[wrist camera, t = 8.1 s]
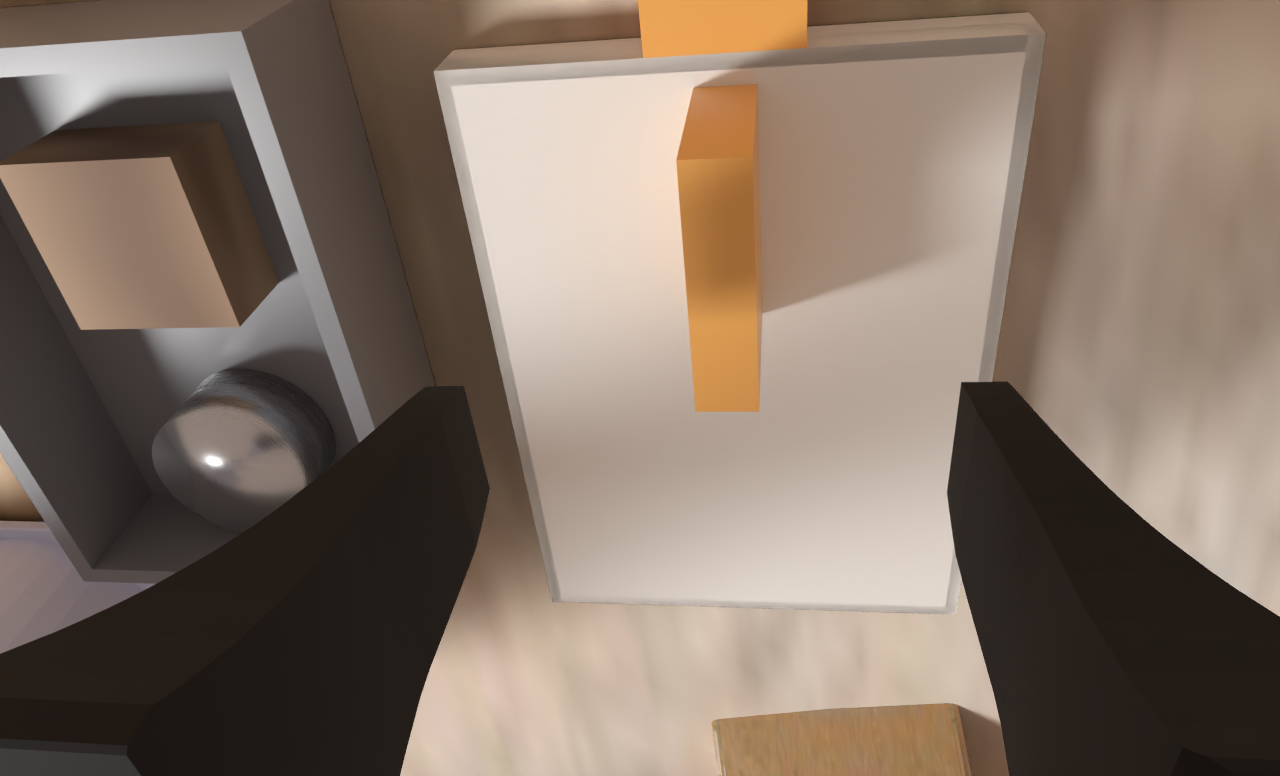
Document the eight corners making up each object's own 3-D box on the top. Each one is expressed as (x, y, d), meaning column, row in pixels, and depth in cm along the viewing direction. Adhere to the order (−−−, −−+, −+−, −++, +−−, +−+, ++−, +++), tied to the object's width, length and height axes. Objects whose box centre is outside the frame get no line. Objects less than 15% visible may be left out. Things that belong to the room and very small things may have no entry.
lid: (561, 565, 28) (525, 706, 24) (431, -57, 18) (332, 9, 14) (948, 575, 26) (978, 729, 22) (1046, -109, 16) (1132, -50, 12)
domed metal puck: (219, 479, 27) (182, 528, 25) (171, 365, 24) (128, 411, 23) (350, 487, 26) (321, 537, 24) (315, 371, 24) (281, 419, 22)
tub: (153, 494, 28) (83, 581, 25) (-107, 16, 20) (-252, 66, 17) (467, 499, 26) (429, 592, 24) (323, -18, 18) (241, 31, 16)
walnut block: (130, 286, 23) (80, 329, 21) (55, 130, 21) (-7, 165, 19) (278, 282, 22) (239, 327, 21) (219, 121, 20) (170, 157, 18)
